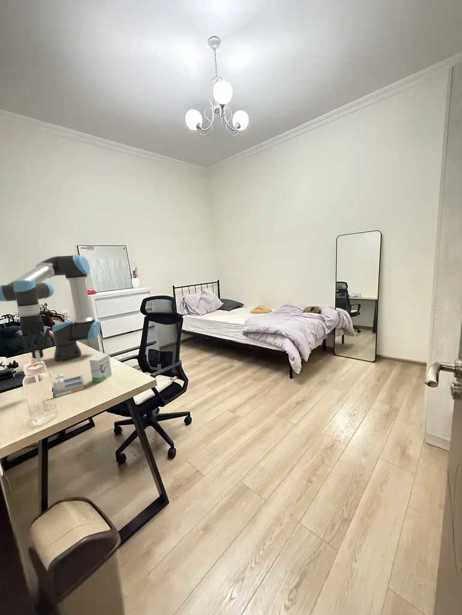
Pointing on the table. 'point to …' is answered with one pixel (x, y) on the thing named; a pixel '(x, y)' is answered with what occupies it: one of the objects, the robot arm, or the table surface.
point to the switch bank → (70, 386)
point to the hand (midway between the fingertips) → (39, 364)
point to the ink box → (100, 368)
